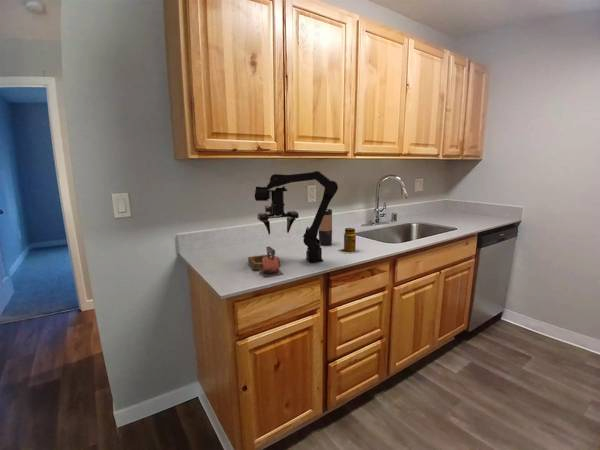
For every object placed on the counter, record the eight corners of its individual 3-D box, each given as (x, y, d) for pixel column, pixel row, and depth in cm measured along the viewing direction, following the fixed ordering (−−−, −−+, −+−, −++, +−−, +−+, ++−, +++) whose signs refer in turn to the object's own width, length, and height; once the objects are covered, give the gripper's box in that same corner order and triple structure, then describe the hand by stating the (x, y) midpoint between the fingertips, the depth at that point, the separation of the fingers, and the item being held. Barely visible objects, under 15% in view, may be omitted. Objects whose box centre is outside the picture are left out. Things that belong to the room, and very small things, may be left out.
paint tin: (275, 268, 137) (275, 245, 136) (281, 273, 131) (281, 249, 129) (260, 270, 135) (260, 247, 133) (265, 275, 128) (265, 251, 127)
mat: (277, 268, 138) (277, 267, 138) (283, 274, 131) (283, 273, 131) (258, 271, 135) (258, 270, 135) (263, 277, 128) (263, 276, 128)
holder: (272, 260, 151) (272, 254, 150) (280, 267, 140) (280, 261, 139) (248, 263, 146) (248, 257, 146) (254, 271, 135) (254, 264, 135)
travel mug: (331, 242, 182) (331, 208, 178) (332, 246, 175) (333, 210, 171) (318, 242, 182) (317, 209, 178) (319, 246, 174) (319, 211, 170)
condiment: (358, 251, 163) (359, 229, 161) (345, 253, 159) (345, 230, 157) (350, 248, 169) (351, 226, 167) (337, 250, 166) (337, 228, 163)
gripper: (290, 198, 156) (291, 228, 159) (254, 200, 149) (255, 232, 152) (298, 200, 146) (299, 233, 149) (259, 202, 139) (261, 236, 142)
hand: (278, 233), depth 148 cm, fingers open, 9 cm apart
